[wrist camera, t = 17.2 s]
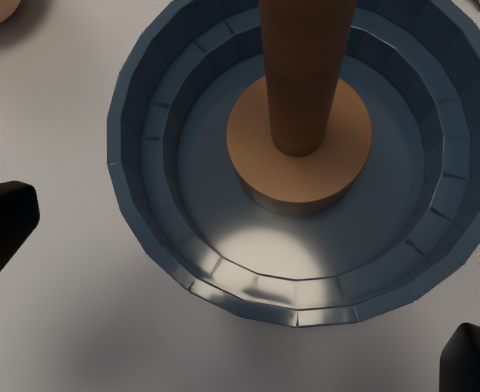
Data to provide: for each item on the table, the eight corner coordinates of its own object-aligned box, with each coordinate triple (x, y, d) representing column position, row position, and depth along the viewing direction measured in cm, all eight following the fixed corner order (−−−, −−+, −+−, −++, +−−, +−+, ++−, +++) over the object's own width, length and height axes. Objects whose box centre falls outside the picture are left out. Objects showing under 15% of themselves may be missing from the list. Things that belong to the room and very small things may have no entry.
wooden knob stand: (318, 241, 18) (453, 28, 4) (211, 176, 19) (-10, -170, 5) (382, 135, 19) (699, -383, 4) (275, 80, 20) (250, -456, 6)
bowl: (519, 247, 18) (607, 229, 13) (202, 366, 18) (171, 393, 13) (373, -13, 22) (398, -101, 17) (116, 88, 22) (68, 30, 17)
